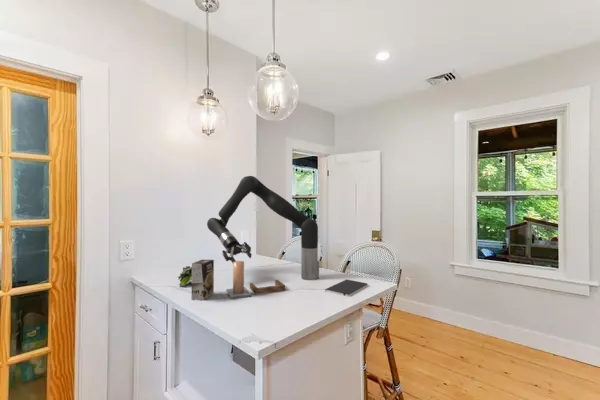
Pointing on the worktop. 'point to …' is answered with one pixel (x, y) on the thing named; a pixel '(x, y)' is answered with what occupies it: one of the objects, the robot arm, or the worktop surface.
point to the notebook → (346, 287)
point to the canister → (238, 277)
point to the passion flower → (185, 275)
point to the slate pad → (241, 295)
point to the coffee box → (202, 279)
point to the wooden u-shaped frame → (268, 288)
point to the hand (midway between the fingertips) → (243, 260)
